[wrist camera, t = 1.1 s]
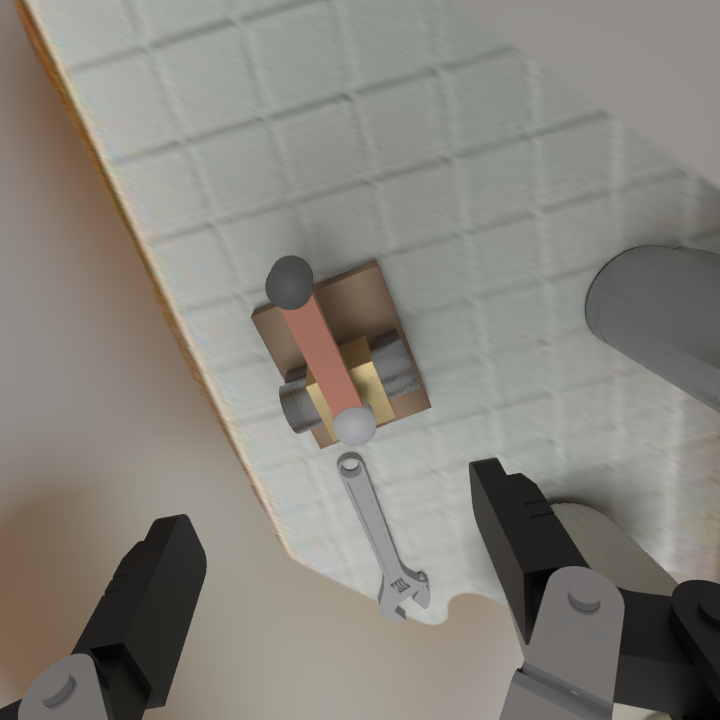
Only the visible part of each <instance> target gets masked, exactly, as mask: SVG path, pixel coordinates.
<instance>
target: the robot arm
mask: <svg viewBox="0 0 720 720" xmlns="http://www.w3.org/2000/svg"><path fill="white" fill-rule="evenodd" d="M586 318H587V321H588V324H589V327H590V329H591V330H592V332H593V333H594V334H595V335H596V336H597V337H598V338H599V339H600V340H602V341H603V342H605V343H607V344H608V345H610V346H612V347H613V348H615V349H616V350H618V351H620V352H621V353H623V354H625V355H626V356H627V357H629V358H631V359H632V360H634V361H636V362H637V363H639V364H640V365H642V366H644V367H645V368H647V369H649V370H650V371H652V372H653V373H655V374H657V375H658V376H660V377H662V378H663V379H665V380H666V381H668V382H670V383H671V384H673V385H675V386H676V387H678V388H679V389H681V390H683V391H684V392H686V393H688V394H689V395H691V396H692V397H694V398H696V399H697V400H699V401H701V402H702V403H704V404H705V405H707V406H709V407H710V408H712V409H714V410H715V411H717V412H718V413H720V254H716V253H711V252H706V251H702V250H697V249H692V248H688V247H680V248H677V249H674V250H673V249H669V248H665V247H660V246H643V247H637V248H634V249H632V250H629V251H626V252H625V253H623V254H621V255H620V256H618V257H616V258H615V259H614V260H612V261H611V262H610V263H609V264H608V265H607V266H605V268H604V269H603V270H602V271H601V272H600V274H599V275H598V276H597V278H596V279H595V281H594V283H593V284H592V286H591V289H590V292H589V294H588V297H587V303H586ZM469 474H470V485H471V495H472V505H473V511H474V515H475V519H476V522H477V525H478V528H479V531H480V533H481V536H482V538H483V541H484V543H485V546H486V548H487V550H488V553H489V555H490V558H491V560H492V563H493V565H494V568H495V570H496V573H497V575H498V578H499V580H500V583H501V585H502V588H503V590H504V592H505V595H506V597H507V600H508V602H509V605H510V607H511V610H512V612H513V615H514V617H515V620H516V622H517V625H518V627H519V630H520V632H521V635H522V637H523V639H524V642H525V644H526V645H529V646H528V650H527V653H526V656H525V660H524V663H523V665H522V667H521V669H519V668H518V669H517V670H516V671H515V673H514V675H513V678H512V680H511V683H510V686H509V690H508V693H507V697H506V699H505V703H504V706H503V709H502V713H501V716H500V719H499V720H612V714H613V706H614V703H618V704H623V705H628V706H633V707H638V708H643V709H648V710H653V711H658V712H663V713H668V714H669V716H670V718H671V720H720V584H718V583H714V582H710V581H705V580H690V581H685V582H683V583H681V584H679V585H678V586H676V588H675V589H674V590H673V593H672V596H665V595H657V594H649V593H641V592H635V591H629V590H626V589H622V588H620V587H617V586H615V585H614V584H613V583H612V582H611V581H610V580H609V579H608V578H606V577H605V576H603V575H602V574H600V573H598V572H596V571H594V570H592V569H591V568H590V566H589V565H588V564H587V562H586V561H585V559H584V557H583V556H582V554H581V553H580V551H579V550H578V548H577V547H576V545H575V543H574V542H573V540H572V539H571V537H570V536H569V534H568V533H567V531H566V529H565V528H564V526H563V525H562V523H561V522H560V520H559V519H558V517H557V516H556V515H555V514H554V511H553V509H552V508H551V506H550V505H549V503H547V501H546V498H545V497H544V495H543V494H542V492H541V491H540V489H539V488H538V486H537V484H535V483H534V482H532V481H531V480H530V479H528V478H527V477H526V476H524V475H523V474H521V473H517V474H511V475H507V474H506V473H505V471H504V469H503V467H502V465H501V464H500V462H499V460H498V459H497V458H490V459H485V460H479V461H474V462H470V463H469ZM206 568H207V564H206V555H205V552H204V549H203V547H202V545H201V543H200V541H199V539H198V536H197V534H196V532H195V530H194V528H193V526H192V524H191V521H190V519H189V517H188V516H187V515H185V514H181V515H175V516H170V517H165V518H159V519H156V520H155V521H154V522H153V524H152V526H151V528H150V530H149V532H148V534H147V536H146V538H145V540H144V541H139V542H138V543H137V544H136V545H135V546H134V547H133V548H132V549H131V550H130V551H129V552H128V553H127V555H126V556H125V557H124V558H123V559H122V561H121V562H120V564H119V566H118V568H117V570H116V572H115V573H114V575H113V580H111V581H110V583H109V585H108V587H107V588H106V590H105V595H104V596H102V598H101V600H100V601H99V603H98V605H97V607H96V609H95V611H94V613H93V614H92V616H91V618H90V620H89V622H88V624H87V625H86V627H85V629H84V631H83V633H82V635H81V637H80V638H79V640H78V642H77V644H76V646H75V648H74V650H73V651H72V653H71V655H70V656H67V657H65V658H63V659H61V660H59V661H58V662H56V663H54V664H53V665H52V666H50V667H49V668H48V669H46V670H45V671H44V672H43V673H42V674H41V675H40V676H39V677H38V678H37V679H36V680H35V681H34V683H33V684H32V685H31V686H30V688H29V689H28V690H27V692H26V694H25V695H24V697H23V698H22V699H20V700H18V701H16V702H14V703H12V704H10V705H8V706H6V707H3V708H1V709H0V720H142V717H143V714H144V711H145V709H150V708H156V707H163V706H165V703H166V700H167V697H168V694H169V690H170V687H171V684H172V681H173V677H174V674H175V671H176V668H177V665H178V661H179V658H180V655H181V652H182V649H183V646H184V642H185V639H186V636H187V633H188V630H189V626H190V623H191V620H192V617H193V614H194V610H195V607H196V604H197V601H198V597H199V594H200V591H201V588H202V585H203V582H204V579H205V575H206Z"/></svg>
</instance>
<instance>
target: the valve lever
mask: <svg viewBox="0 0 720 720" xmlns="http://www.w3.org/2000/svg"><path fill="white" fill-rule="evenodd" d="M265 288H266V293H267V296H268V298H269V299H270V301H271V302H272V303H273V304H274V305H276V306H277V307H279V308H280V309H281V311H282V313H283V315H284V317H285V319H286V322H287V324H288V326H289V328H290V330H291V332H292V334H293V336H294V338H295V340H296V342H297V344H298V346H299V348H300V350H301V352H302V354H303V356H304V358H305V360H306V362H307V364H308V366H309V368H310V370H311V372H312V374H313V376H314V378H315V380H316V382H317V384H318V386H319V388H320V390H321V392H322V394H323V396H324V398H325V400H326V402H327V404H328V406H329V408H330V410H331V412H332V414H333V429H334V434H335V436H336V437H337V439H338V440H339V441H341V442H342V443H344V444H347V445H351V446H356V445H361V444H364V443H366V442H368V441H369V440H370V439H371V438H372V437H373V436H374V434H375V432H376V421H375V416H374V411H373V408H372V406H371V405H370V404H369V403H368V402H367V401H365V400H363V399H361V397H360V395H359V392H358V390H357V388H356V386H355V384H354V381H353V379H352V377H351V375H350V373H349V370H348V368H347V366H346V364H345V361H344V359H343V357H342V355H341V353H340V350H339V348H338V346H337V344H336V342H335V339H334V337H333V335H332V333H331V330H330V328H329V326H328V324H327V322H326V319H325V317H324V315H323V313H322V311H321V308H320V306H319V304H318V302H317V299H316V297H315V295H314V293H313V291H312V288H313V272H312V269H311V267H310V266H309V264H308V263H307V262H306V261H305V260H303V259H302V258H300V257H297V256H285V257H282V258H280V259H279V260H278V261H276V262H275V264H274V265H273V267H272V269H271V271H270V273H269V275H268V277H267V279H266V284H265Z"/></svg>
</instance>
